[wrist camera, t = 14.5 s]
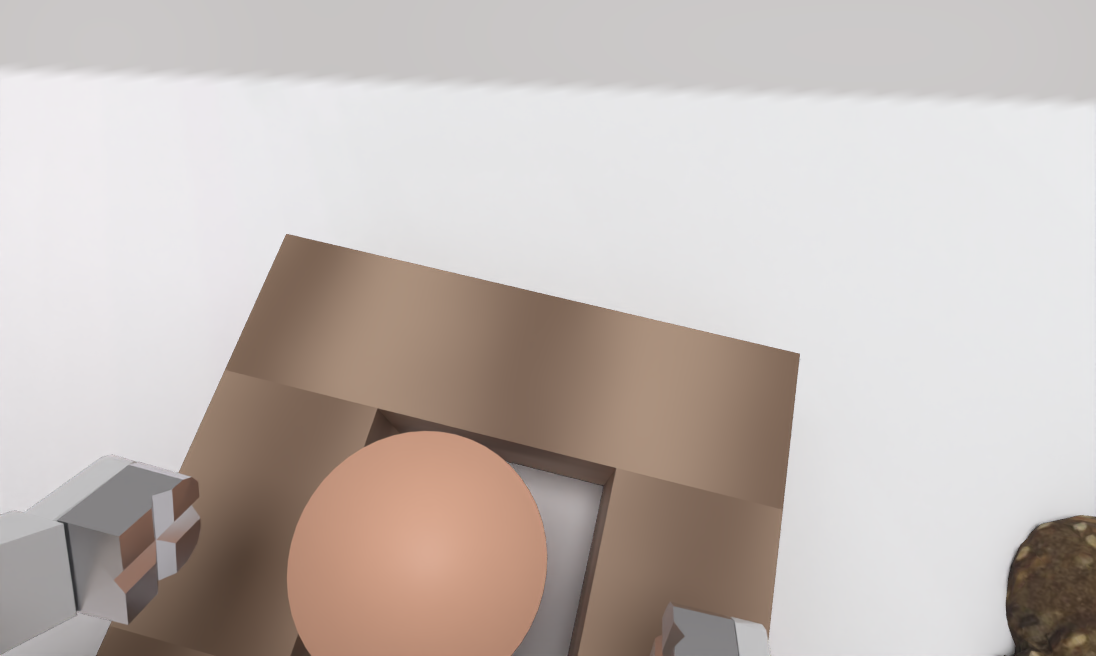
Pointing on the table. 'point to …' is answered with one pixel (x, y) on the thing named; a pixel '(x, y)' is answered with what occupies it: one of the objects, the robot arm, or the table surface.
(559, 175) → the table surface
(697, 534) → the pin board
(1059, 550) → the bread roll
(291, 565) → the pin
